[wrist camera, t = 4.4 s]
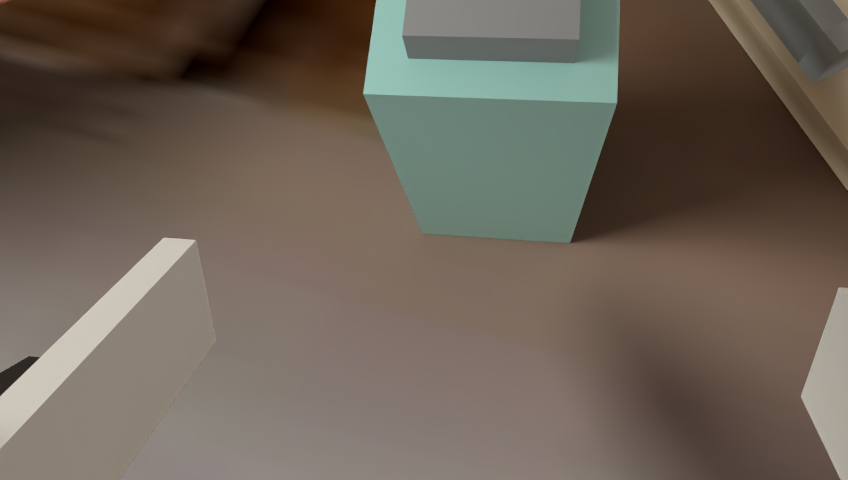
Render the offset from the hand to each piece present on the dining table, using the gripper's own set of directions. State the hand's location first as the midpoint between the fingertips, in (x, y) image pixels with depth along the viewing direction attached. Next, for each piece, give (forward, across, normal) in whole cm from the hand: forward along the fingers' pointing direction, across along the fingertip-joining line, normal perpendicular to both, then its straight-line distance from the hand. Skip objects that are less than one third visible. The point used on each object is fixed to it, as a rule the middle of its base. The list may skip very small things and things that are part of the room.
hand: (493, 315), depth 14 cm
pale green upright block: (+14, -1, -3) cm, 15 cm away
